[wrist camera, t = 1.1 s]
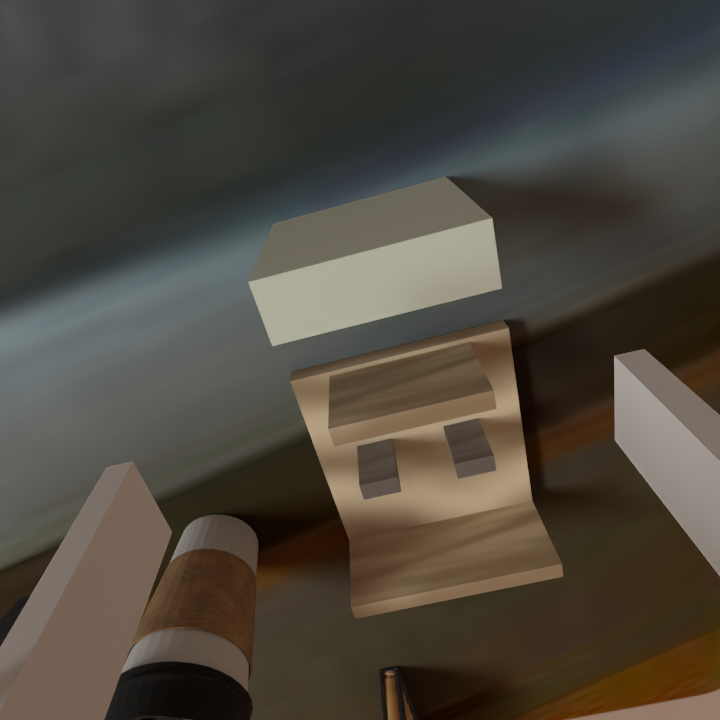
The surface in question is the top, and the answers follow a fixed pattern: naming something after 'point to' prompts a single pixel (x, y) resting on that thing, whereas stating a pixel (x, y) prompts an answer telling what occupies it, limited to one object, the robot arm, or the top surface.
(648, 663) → the top surface
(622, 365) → the robot arm
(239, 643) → the coffee cup
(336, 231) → the beige rectangular block
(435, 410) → the wooden shelf with pegs
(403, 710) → the ammunition clip
